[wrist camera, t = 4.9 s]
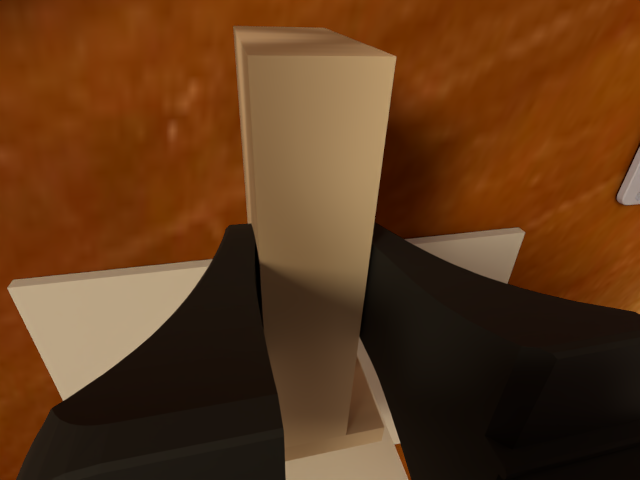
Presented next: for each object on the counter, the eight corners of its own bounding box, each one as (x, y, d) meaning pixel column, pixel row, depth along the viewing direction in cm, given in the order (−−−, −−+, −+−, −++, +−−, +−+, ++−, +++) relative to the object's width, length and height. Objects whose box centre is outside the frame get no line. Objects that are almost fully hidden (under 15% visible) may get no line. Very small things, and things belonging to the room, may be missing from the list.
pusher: (370, 29, 11) (467, 57, 7) (341, 332, 17) (381, 440, 13) (179, 24, 10) (156, 54, 6) (225, 349, 16) (229, 473, 12)
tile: (350, 337, 20) (419, 507, 13) (348, 359, 21) (412, 529, 14) (208, 359, 18) (204, 563, 12) (212, 381, 19) (211, 584, 12)
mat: (518, 227, 19) (525, 232, 19) (453, 424, 27) (456, 430, 27) (12, 279, 15) (7, 287, 14) (117, 496, 23) (115, 505, 22)
